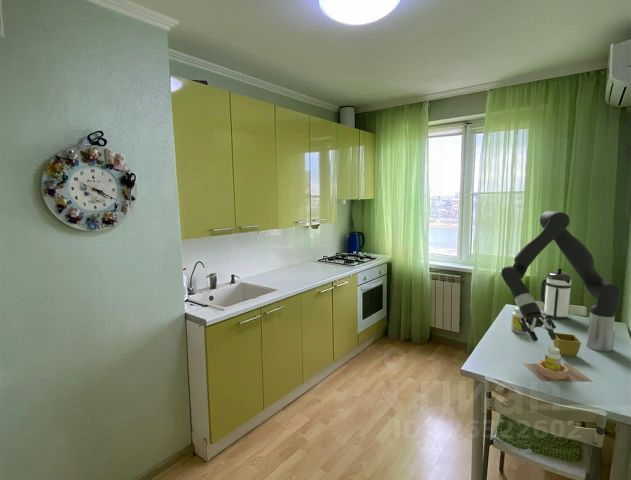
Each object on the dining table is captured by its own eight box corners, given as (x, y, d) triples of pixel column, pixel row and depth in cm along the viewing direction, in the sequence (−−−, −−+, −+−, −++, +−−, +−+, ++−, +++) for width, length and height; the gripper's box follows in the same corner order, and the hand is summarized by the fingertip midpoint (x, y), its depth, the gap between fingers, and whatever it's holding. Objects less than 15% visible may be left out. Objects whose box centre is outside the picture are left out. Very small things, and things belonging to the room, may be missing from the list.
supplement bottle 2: (540, 367, 148) (542, 346, 147) (552, 366, 149) (554, 345, 147) (550, 374, 143) (552, 351, 141) (562, 373, 143) (565, 351, 142)
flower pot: (572, 352, 166) (574, 334, 164) (579, 361, 157) (581, 342, 156) (551, 349, 168) (552, 332, 167) (557, 358, 160) (558, 339, 159)
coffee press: (572, 315, 212) (577, 267, 208) (568, 323, 200) (573, 272, 196) (539, 309, 224) (543, 263, 219) (533, 315, 212) (537, 268, 208)
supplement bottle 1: (527, 333, 187) (528, 311, 185) (513, 333, 188) (515, 310, 186) (522, 328, 194) (524, 306, 192) (509, 328, 195) (510, 306, 193)
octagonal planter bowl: (556, 366, 151) (557, 359, 150) (573, 379, 140) (574, 372, 140) (532, 366, 151) (532, 359, 151) (546, 379, 141) (547, 372, 140)
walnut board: (569, 366, 153) (569, 363, 153) (592, 384, 139) (593, 381, 139) (522, 366, 154) (522, 363, 154) (541, 383, 140) (541, 380, 140)
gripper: (517, 303, 155) (535, 338, 145) (546, 300, 157) (565, 335, 147) (508, 310, 161) (525, 344, 151) (536, 308, 163) (554, 341, 153)
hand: (545, 340), depth 149 cm, fingers open, 8 cm apart
